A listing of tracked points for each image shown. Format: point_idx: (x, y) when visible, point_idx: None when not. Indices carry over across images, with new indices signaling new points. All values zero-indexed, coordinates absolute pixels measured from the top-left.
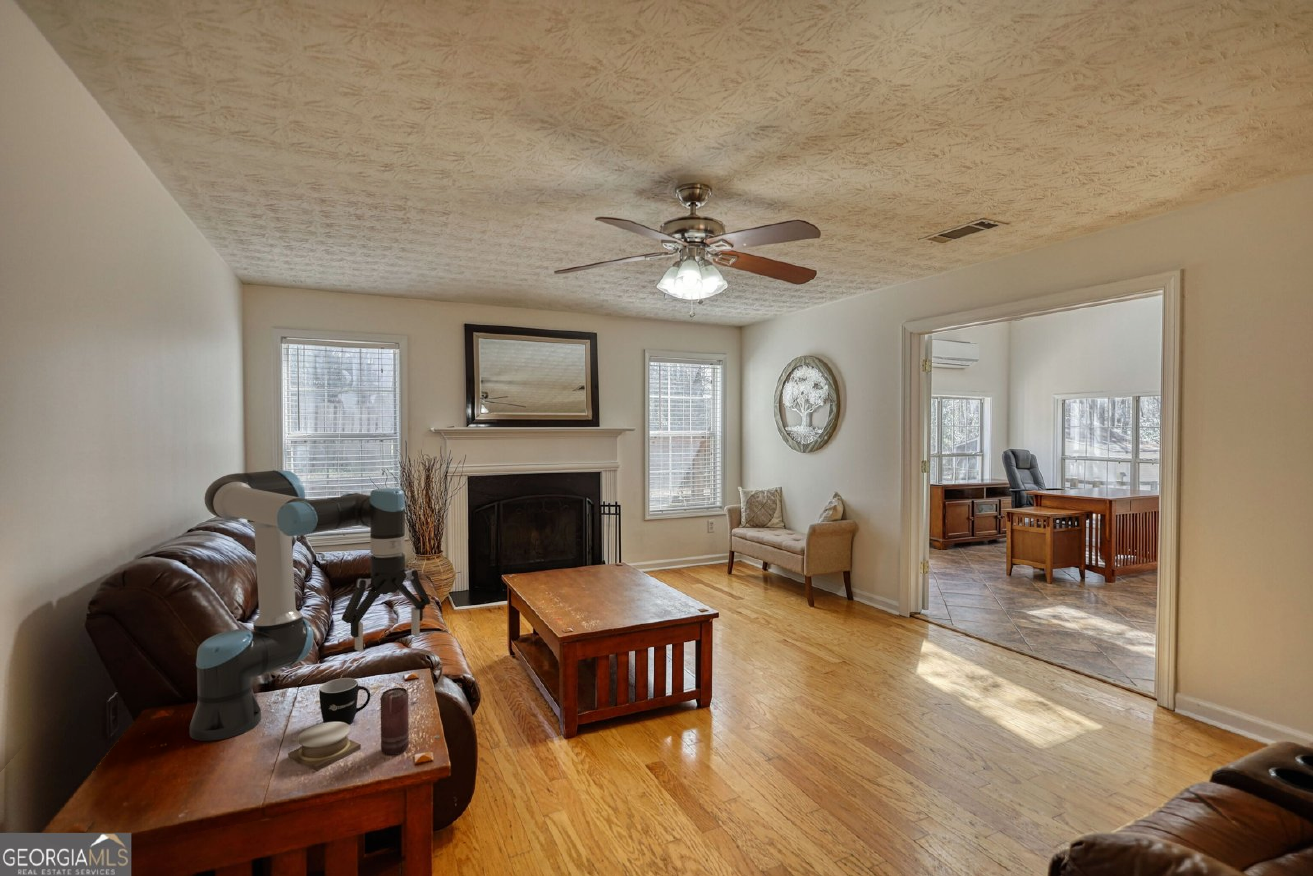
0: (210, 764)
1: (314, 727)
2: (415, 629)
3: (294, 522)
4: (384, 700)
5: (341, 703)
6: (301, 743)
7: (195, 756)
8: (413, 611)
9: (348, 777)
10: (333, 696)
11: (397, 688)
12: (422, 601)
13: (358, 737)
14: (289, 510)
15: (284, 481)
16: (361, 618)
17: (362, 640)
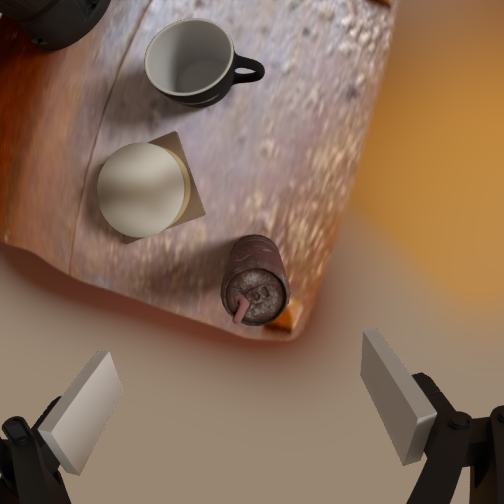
0: (30, 120)
1: (127, 152)
2: (370, 385)
3: None
4: (224, 306)
5: (186, 102)
6: (99, 205)
7: (24, 85)
8: (406, 430)
9: (167, 293)
10: (165, 94)
11: (272, 272)
12: (473, 459)
13: (215, 163)
14: None
15: None
16: (64, 490)
17: (106, 419)
